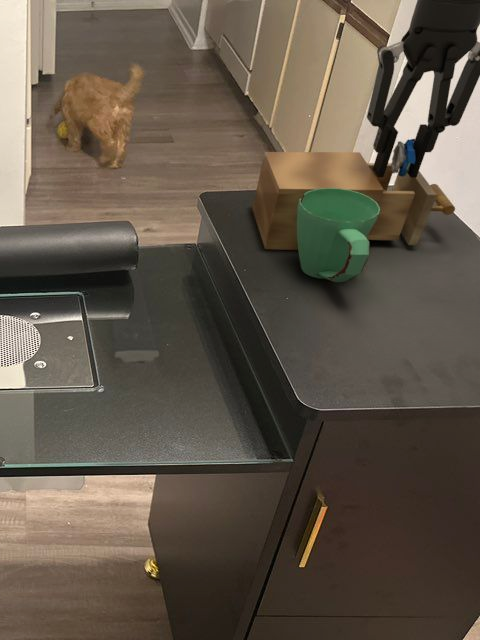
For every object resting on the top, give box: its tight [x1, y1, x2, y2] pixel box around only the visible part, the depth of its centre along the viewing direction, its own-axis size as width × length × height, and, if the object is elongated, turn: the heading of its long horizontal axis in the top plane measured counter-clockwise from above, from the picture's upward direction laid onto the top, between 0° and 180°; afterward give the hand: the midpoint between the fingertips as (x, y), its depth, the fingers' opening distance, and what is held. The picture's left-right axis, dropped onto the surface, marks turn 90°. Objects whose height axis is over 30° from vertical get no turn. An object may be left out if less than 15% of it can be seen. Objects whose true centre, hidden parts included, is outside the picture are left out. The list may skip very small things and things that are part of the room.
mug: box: [297, 188, 380, 283], centre depth 97 cm, size 15×10×10 cm
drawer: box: [366, 162, 456, 246], centre depth 106 cm, size 17×11×8 cm
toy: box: [390, 138, 416, 177], centre depth 102 cm, size 5×4×5 cm
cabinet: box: [251, 151, 384, 251], centre depth 107 cm, size 14×13×10 cm
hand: (394, 172), depth 103 cm, fingers closed on toy, 4 cm apart
